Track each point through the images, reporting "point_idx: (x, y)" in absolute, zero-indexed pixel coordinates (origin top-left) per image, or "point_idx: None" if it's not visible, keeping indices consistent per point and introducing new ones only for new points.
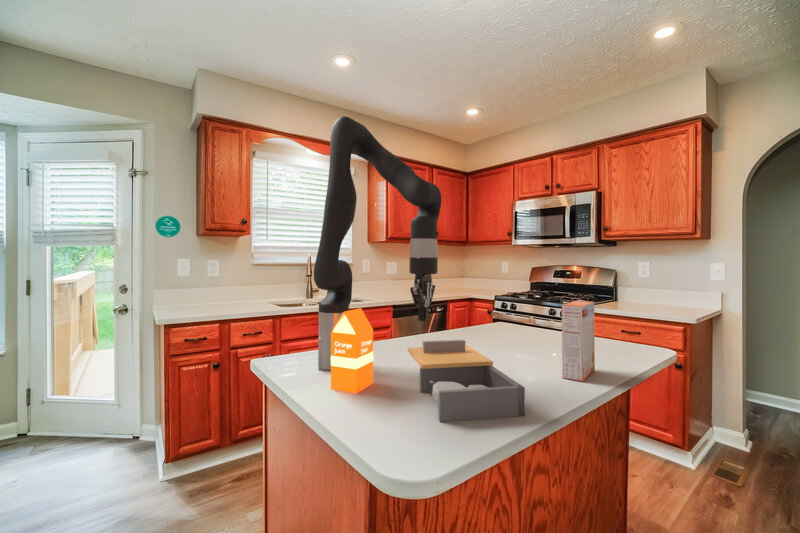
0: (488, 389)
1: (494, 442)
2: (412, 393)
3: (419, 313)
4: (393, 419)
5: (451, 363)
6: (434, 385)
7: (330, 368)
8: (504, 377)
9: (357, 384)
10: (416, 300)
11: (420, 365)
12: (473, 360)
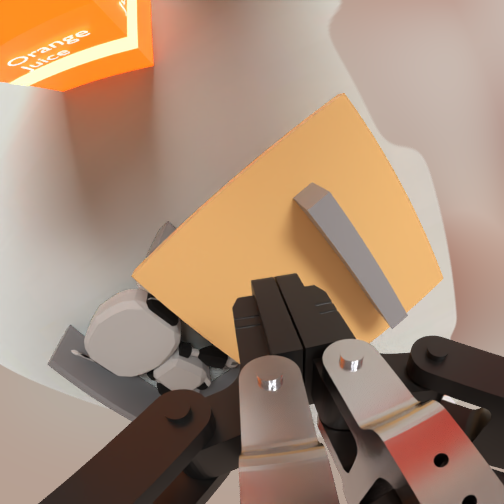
0: (126, 417)
1: (80, 395)
2: (141, 213)
3: (237, 334)
4: (19, 260)
5: (208, 339)
6: (112, 311)
7: None
8: None
9: (59, 87)
10: (161, 456)
11: (148, 257)
12: None
